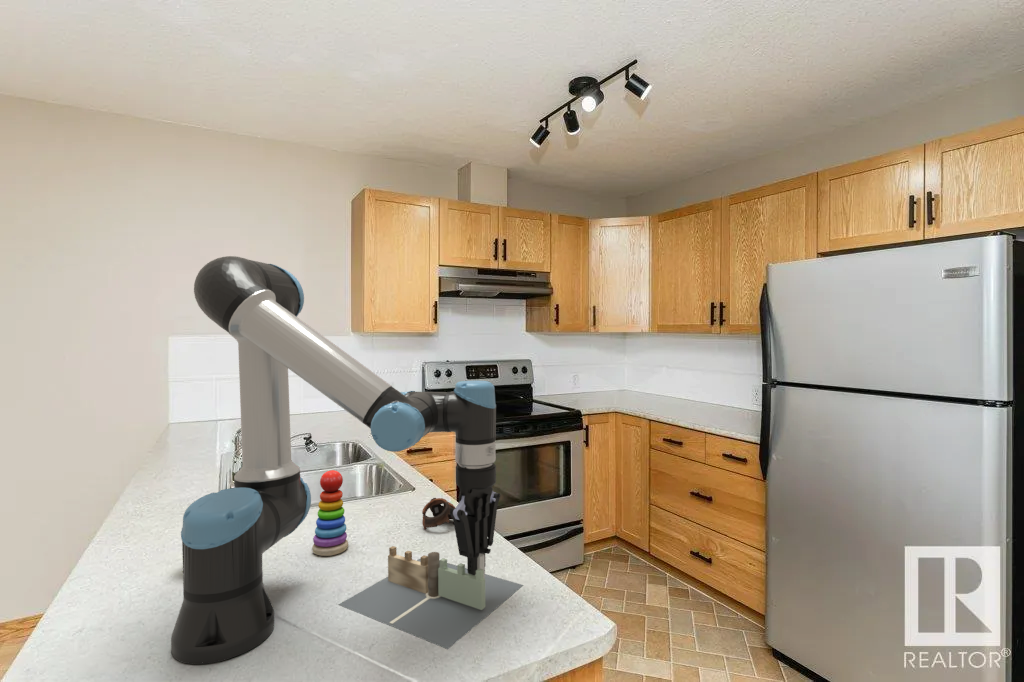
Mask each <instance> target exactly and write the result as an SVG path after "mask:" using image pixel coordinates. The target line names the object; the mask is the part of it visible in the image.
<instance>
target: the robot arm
mask: <svg viewBox="0 0 1024 682" xmlns="http://www.w3.org/2000/svg"><path fill="white" fill-rule="evenodd" d="M193 294H194V298H195V302H196V303H197V306H198V307H199V309H200V310H201V311H202V312H203V314H204V315H206V317H207V318H209V319H210V320H211V321H213V323H215V324H216V325H217V326H219V327H220V328H222V329H223V330H224V331H225V332H227V333H228V334H229V335H230V336H231V337H232V338H234V339H235V341H236V343H238V345H237V347H238V368H239V369H238V373H239V377H238V378H239V399H240V401H239V402H240V427H241V428H240V429H241V431H240V432H241V452H242V453H241V454H242V455H241V456H242V457H241V458H242V461H241V462H242V467H241V468H240V469H239V470H238V471H237V472H236V473H235V474H234V476H233V477H234V479H233V484H234V487H231V488H224V489H220V490H219V491H218V492H211V493H209V494H206V495H203V496H201V497H199V498H198V499H196V500H194V501H193V502H191V504H190V505H188V507H187V508H185V509H186V510H185V511H184V513H183V515H182V526H181V527H182V528H181V532H180V536H181V537H180V539H181V542H182V543H181V547H182V578H183V580H182V581H183V582H182V584H183V585H182V587H183V589H182V591H183V597H182V598H183V600H182V603H181V607H180V610H179V613H178V615H177V619H176V621H175V624H174V628H173V631H172V634H171V638H170V639H171V640H170V643H171V645H170V647H171V655H172V657H173V658H174V659H176V660H177V661H178V662H181V663H185V664H189V665H190V664H192V665H203V664H212V663H218V662H221V661H225V660H229V659H232V658H234V657H237V656H240V655H243V654H245V653H247V652H248V651H251V650H252V649H254V648H256V647H257V646H260V644H262V643H263V642H264V641H265V640H266V639H268V638H269V636H270V635H271V634H272V633H273V631H274V628H275V609H274V606H273V605H272V602H271V599H270V597H269V594H268V592H267V590H266V587H265V584H264V582H263V581H264V577H263V575H264V574H263V573H264V572H263V554H264V553H265V552H266V551H268V550H269V549H270V548H272V547H273V546H274V545H275V544H277V543H278V542H280V541H281V540H282V539H283V538H285V537H287V536H289V535H291V534H292V533H293V532H295V531H296V529H298V527H299V526H300V525H301V524H302V523H303V522H304V521H305V519H306V517H307V516H308V514H309V512H310V508H311V504H312V495H311V490H310V487H309V485H308V483H307V482H305V481H304V478H302V476H301V469H300V467H299V466H298V465H297V464H296V463H295V462H294V461H293V460H292V440H291V413H290V412H291V411H290V410H291V409H290V389H289V388H290V386H289V370H290V371H291V372H293V373H294V374H296V376H298V377H299V378H300V379H302V380H303V381H305V382H306V383H308V384H309V385H310V386H312V387H313V388H315V390H317V391H319V393H321V394H322V395H324V396H326V398H328V399H329V400H331V401H332V402H333V403H335V404H337V406H338V407H340V408H342V409H343V410H344V411H346V412H347V413H348V414H350V415H351V416H352V417H354V418H355V419H357V420H358V421H360V422H361V423H362V424H364V425H365V426H366V427H367V428H369V429H370V434H371V437H372V439H373V440H374V442H375V444H376V445H377V446H378V447H379V448H381V449H383V450H385V451H387V452H391V453H393V452H394V453H395V452H401V451H404V450H406V449H407V450H408V449H409V448H411V447H413V446H415V445H416V444H417V443H419V442H420V440H422V438H424V437H425V436H427V434H429V433H454V434H455V454H454V455H455V459H454V461H455V462H456V463H457V465H456V466H455V484H456V486H458V488H459V495H458V504H457V506H455V508H451V509H450V515H451V517H452V519H453V520H452V519H451V520H452V521H453V527H454V531H455V538H456V542H457V544H456V545H457V548H458V554H459V556H461V557H465V558H467V559H466V560H467V561H466V563H467V567H466V568H467V569H468V573H469V574H471V575H475V576H476V570H477V569H482V570H483V578H485V574H486V555H487V554H490V553H491V551H492V550H491V548H489V547H492V546H493V544H494V537H495V528H496V518H497V511H498V505H499V501H500V499H501V493H500V492H495V491H494V489H493V486H494V485H496V483H497V465H496V464H495V462H496V459H497V457H496V451H497V450H496V440H497V439H496V435H497V434H496V432H497V431H496V430H497V427H496V426H497V422H496V421H497V404H496V392H495V389H496V388H495V385H494V384H493V383H492V382H490V381H488V380H462V381H461V380H460V381H457V382H456V383H455V387H454V389H453V391H447V392H446V391H415V390H409V391H399V390H398V389H396V388H395V387H393V386H392V385H391V384H390V383H388V382H387V381H385V380H384V379H383V378H382V377H380V376H379V375H377V374H376V373H375V372H374V371H372V370H370V369H369V368H368V367H366V366H364V364H362V363H360V362H359V361H358V360H357V359H355V358H354V357H352V356H351V354H349V353H347V352H345V351H344V350H343V349H341V348H340V347H339V346H337V345H336V344H334V343H333V342H332V341H331V340H329V339H328V338H327V337H325V336H324V335H323V334H321V333H320V332H318V331H317V330H315V329H314V328H313V327H311V326H310V325H309V324H307V323H306V322H304V321H303V320H302V319H300V318H299V317H298V316H299V314H300V313H301V312H302V310H303V307H304V305H305V304H304V303H305V296H304V295H305V293H304V290H303V287H302V284H301V283H300V281H299V279H298V278H297V277H296V276H295V275H293V273H291V272H290V271H288V270H287V269H285V268H282V267H280V266H278V265H276V264H273V263H267V262H261V261H256V260H252V259H248V258H244V257H240V256H235V255H234V256H231V255H230V256H222V257H221V256H220V257H218V258H215V259H212V260H210V261H209V262H207V263H206V264H204V265H203V267H202V268H201V269H200V270H199V271H198V273H197V275H196V277H195V280H194V284H193Z"/></svg>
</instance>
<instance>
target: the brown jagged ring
mask: <svg viewBox="0 0 1024 682" xmlns="http://www.w3.org/2000/svg"><path fill="white" fill-rule="evenodd" d="M451 508H456V506H455V505H454V504H453V503H451V502H450V501H448V500H446V499H445V498H443V497H441V498H440V497H437V498H436V497H433V498H431V499H430V501H429V502H428V503H426V504H425V505H424V506H423V508H422V511H421V513H422V522H421V523H422V526H423V529H424V530H425V529H426V530H427V528H437V526H441V525H443V524H444V523H448V524H449V523H450V520H451V521H453V519H452V517H451V515H450V509H451ZM428 510H430V512H431V513H432V516H428V515H427V512H428Z"/></svg>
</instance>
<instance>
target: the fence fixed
mask: <svg viewBox="0 0 1024 682" xmlns="http://www.w3.org/2000/svg"><path fill="white" fill-rule="evenodd" d="M388 552H389V554H388V555H387V577H388V581H390V582H393V583H396V584H399V585H402V586H405V587H408V588H411V589H413V590H416V591H419V592H422V593H425V594H426V593H427V592H428V595H429V596H430V597H436V596H438V568H440V560H441V559H440V552H437V551H431V552H428V554H427V555H421V556H420V558H421V562H419V561H417V560H415V559H413V552H412V551H411V550H407V551H405V552H404V556H403V555H399V554H397V547H396V546H394V545H392V546H391V547H389V548H388Z"/></svg>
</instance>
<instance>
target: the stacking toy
mask: <svg viewBox="0 0 1024 682" xmlns="http://www.w3.org/2000/svg"><path fill="white" fill-rule="evenodd" d="M343 478H344V477H343V475H342V473H341V472H339V471H337V470H332V469H331V470H328V471H326V472H324V473H323V474H322V475H321V477H320V478H319V479H320V481H319V484H320V487H321V489H322V490H323V491H321V493H320V494H319V499H320V501H319V502H318V508H319V509H318V510H317V518H316V521H315V525H316V527H315V530H314V536H313V538H312V542H313V545H312V549H311V550H312V552H313V553H314V554H315V555H317V556H320V557H321V556H323V557H330V556H336V555H339V554H341V553H343V552H346V550H347V548H348V547H349V542H348V540H347V538H348V534H347V532H346V531H347V525H346V523H345V522H346V517H345V516H344V515H345V508H344V507H343V506H344V501H343V499H342V498H343V492H342V490H340V489H341V487H342V485H343V481H344V479H343Z"/></svg>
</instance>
